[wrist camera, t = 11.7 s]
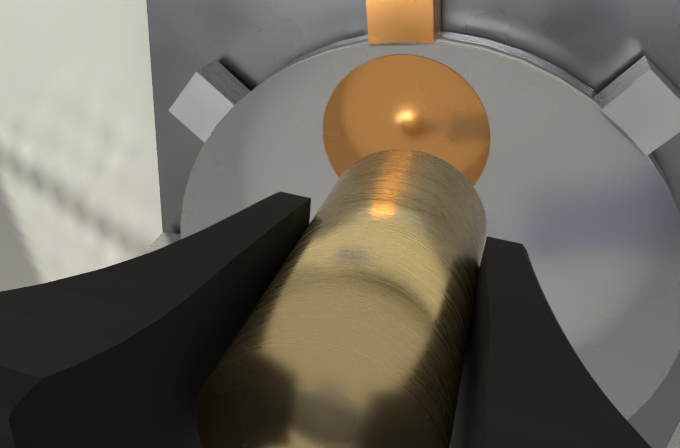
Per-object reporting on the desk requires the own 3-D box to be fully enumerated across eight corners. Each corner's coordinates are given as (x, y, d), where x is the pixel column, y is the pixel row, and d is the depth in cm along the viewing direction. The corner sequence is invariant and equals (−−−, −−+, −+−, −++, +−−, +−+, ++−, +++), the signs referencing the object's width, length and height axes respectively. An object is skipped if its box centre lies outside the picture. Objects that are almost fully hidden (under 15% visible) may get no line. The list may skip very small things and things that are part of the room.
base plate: (865, 15, 15) (883, 25, 14) (623, 501, 25) (626, 524, 24) (159, -80, 19) (140, -77, 18) (185, 379, 28) (174, 395, 27)
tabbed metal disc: (402, -198, 14) (338, -215, 10) (891, 312, 17) (1006, 472, 13) (79, 245, 24) (-25, 334, 20) (425, 529, 26) (400, 664, 22)
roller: (501, 165, 12) (464, 390, 7) (471, 303, 14) (424, 568, 9) (333, 135, 13) (190, 323, 8) (324, 271, 14) (201, 499, 9)
